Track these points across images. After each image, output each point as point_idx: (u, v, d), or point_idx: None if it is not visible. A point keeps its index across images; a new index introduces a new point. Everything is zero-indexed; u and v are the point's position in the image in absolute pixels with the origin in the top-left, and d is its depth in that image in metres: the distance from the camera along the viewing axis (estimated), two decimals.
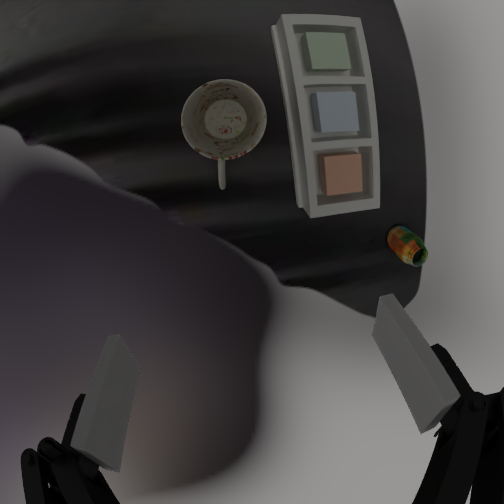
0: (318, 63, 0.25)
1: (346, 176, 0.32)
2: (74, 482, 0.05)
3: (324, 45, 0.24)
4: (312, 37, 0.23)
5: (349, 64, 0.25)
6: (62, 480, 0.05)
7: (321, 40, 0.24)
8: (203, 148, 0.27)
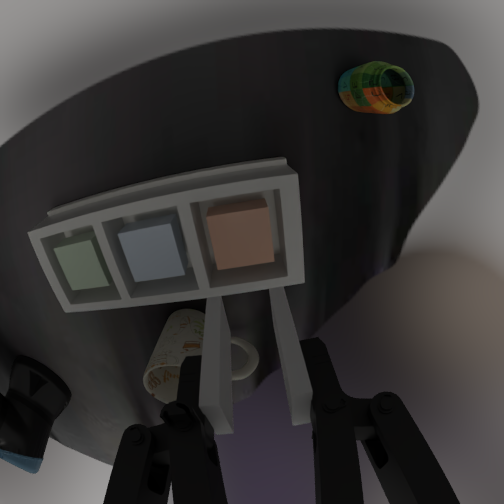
0: (100, 279, 0.24)
1: (244, 237, 0.23)
2: (193, 455, 0.07)
3: (77, 272, 0.23)
4: (74, 284, 0.24)
5: (86, 242, 0.22)
6: (177, 449, 0.07)
7: (73, 275, 0.23)
8: None
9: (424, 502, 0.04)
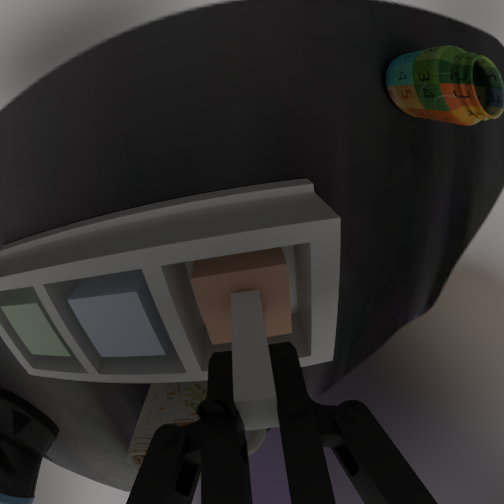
0: (59, 348, 0.15)
1: None
2: (226, 453, 0.07)
3: (31, 336, 0.15)
4: (32, 348, 0.15)
5: (32, 305, 0.13)
6: (210, 446, 0.07)
7: (28, 338, 0.15)
8: None
9: None
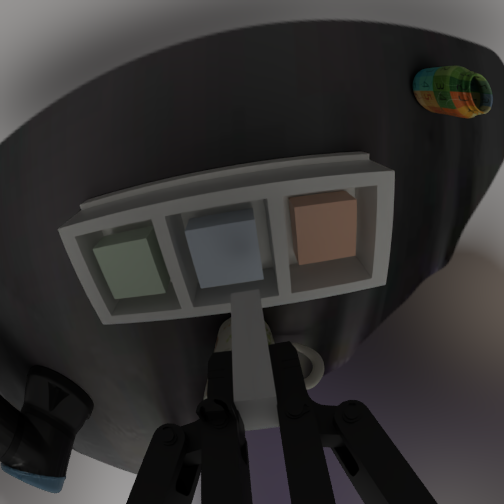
0: (154, 285, 0.21)
1: (330, 230, 0.21)
2: (226, 453, 0.07)
3: (124, 277, 0.21)
4: (118, 291, 0.21)
5: (139, 241, 0.19)
6: (210, 447, 0.07)
7: (118, 281, 0.21)
8: None
9: None
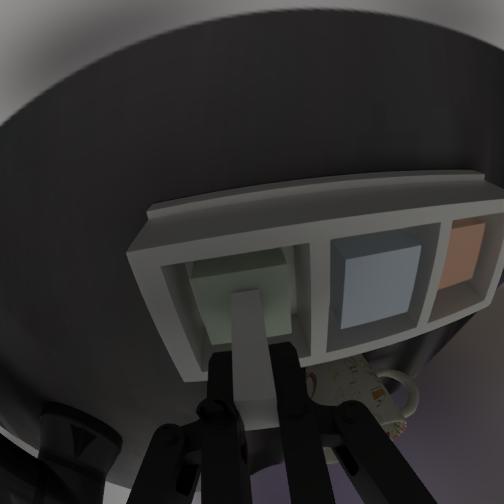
0: (279, 325, 0.16)
1: (463, 253, 0.16)
2: (226, 453, 0.07)
3: None
4: (221, 335, 0.16)
5: (275, 269, 0.14)
6: (210, 446, 0.07)
7: (224, 322, 0.15)
8: None
9: None
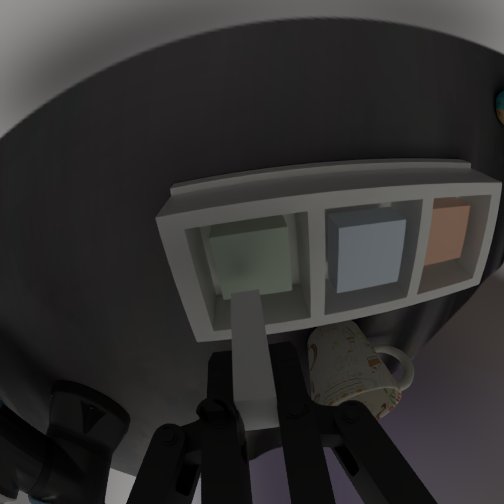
0: (281, 282, 0.19)
1: (449, 232, 0.18)
2: (226, 453, 0.07)
3: (244, 273, 0.19)
4: (232, 290, 0.19)
5: (278, 230, 0.17)
6: (210, 446, 0.07)
7: (235, 277, 0.19)
8: (375, 405, 0.22)
9: None
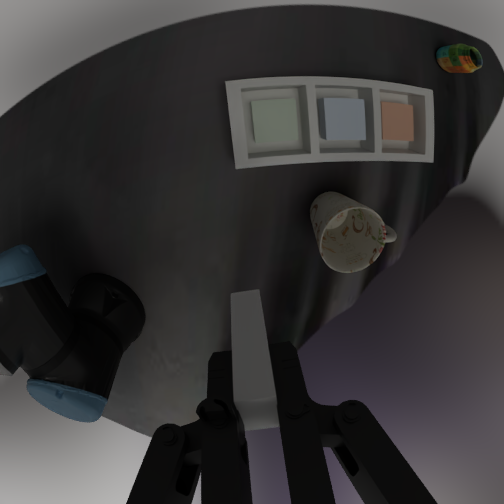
0: (292, 133, 0.29)
1: (399, 120, 0.28)
2: (226, 454, 0.07)
3: (270, 124, 0.28)
4: (261, 136, 0.29)
5: (290, 100, 0.27)
6: (210, 447, 0.07)
7: (264, 127, 0.29)
8: (367, 253, 0.32)
9: None
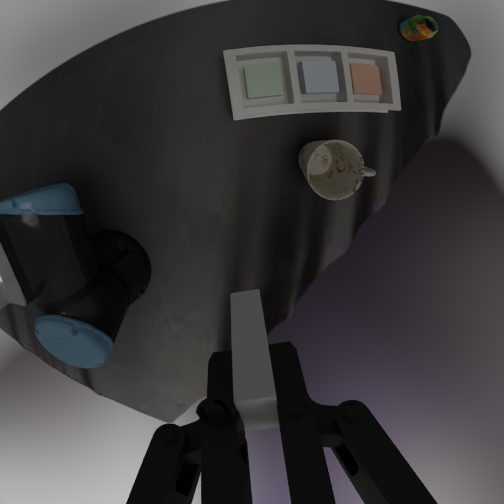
0: (278, 89, 0.33)
1: (367, 77, 0.33)
2: (226, 453, 0.07)
3: (260, 83, 0.33)
4: (253, 92, 0.33)
5: (275, 64, 0.32)
6: (210, 446, 0.07)
7: (255, 85, 0.33)
8: (351, 184, 0.36)
9: None
